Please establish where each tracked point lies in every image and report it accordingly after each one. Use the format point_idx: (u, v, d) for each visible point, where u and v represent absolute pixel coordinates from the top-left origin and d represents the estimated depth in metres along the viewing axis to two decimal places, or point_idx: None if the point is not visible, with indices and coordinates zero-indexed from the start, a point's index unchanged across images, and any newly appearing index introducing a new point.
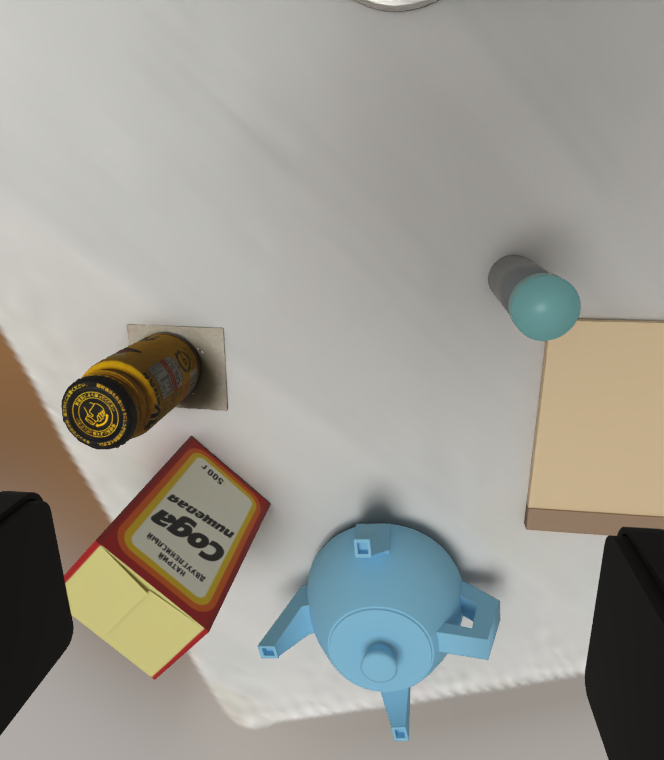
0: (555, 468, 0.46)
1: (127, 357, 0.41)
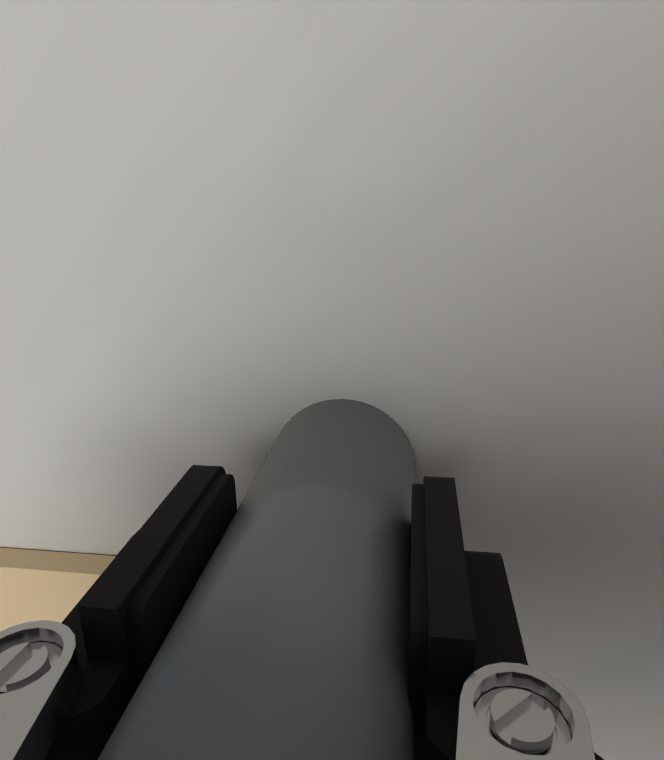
0: None
1: None
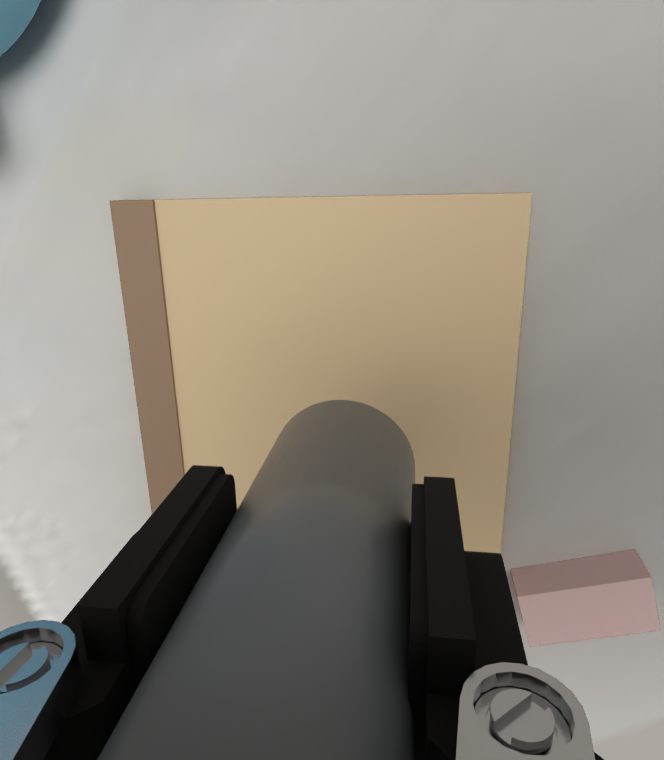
0: (239, 239, 0.25)
1: None
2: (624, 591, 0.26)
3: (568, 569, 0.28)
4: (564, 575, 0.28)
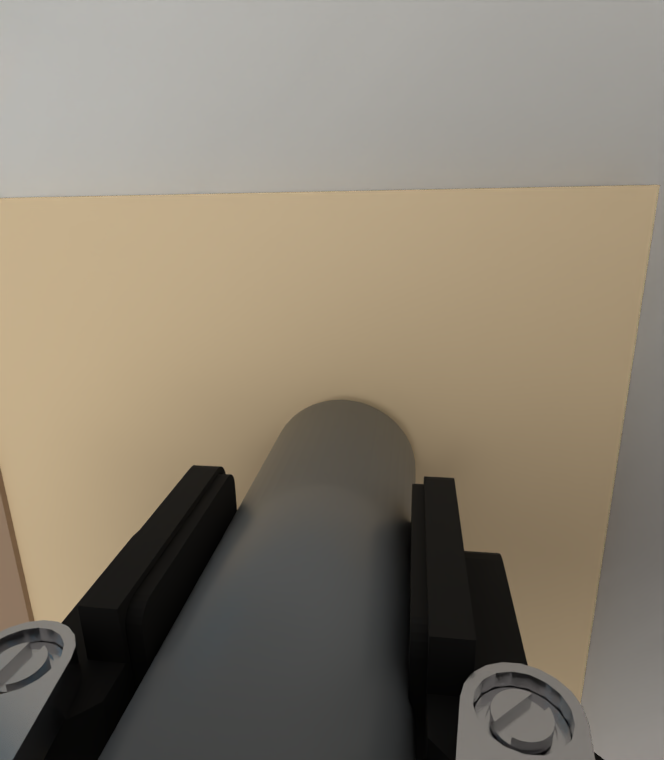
0: (99, 273, 0.14)
1: None
2: None
3: None
4: None
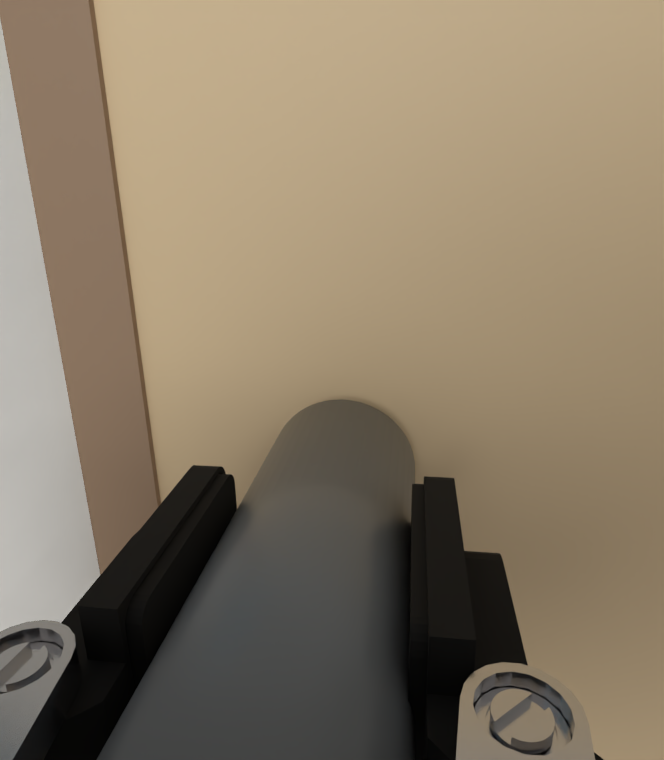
0: None
1: None
2: None
3: None
4: None
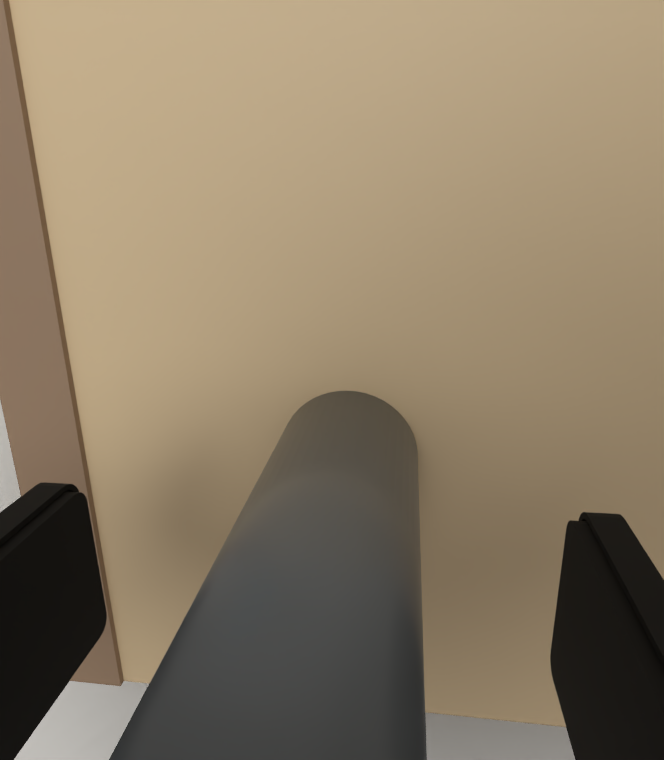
0: None
1: None
2: None
3: None
4: None
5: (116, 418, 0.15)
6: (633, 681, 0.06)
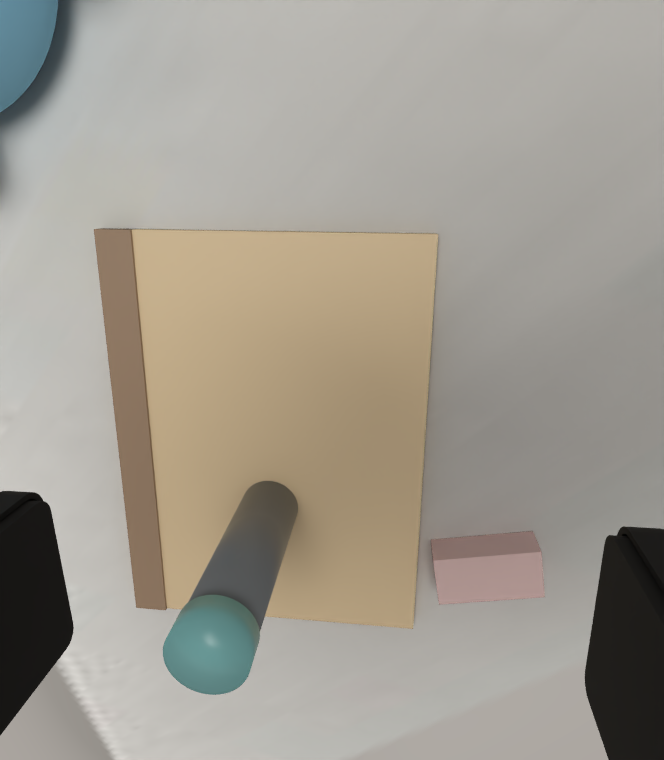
0: (202, 264, 0.30)
1: None
2: (519, 562, 0.32)
3: (477, 542, 0.33)
4: (473, 547, 0.33)
5: (172, 489, 0.34)
6: None
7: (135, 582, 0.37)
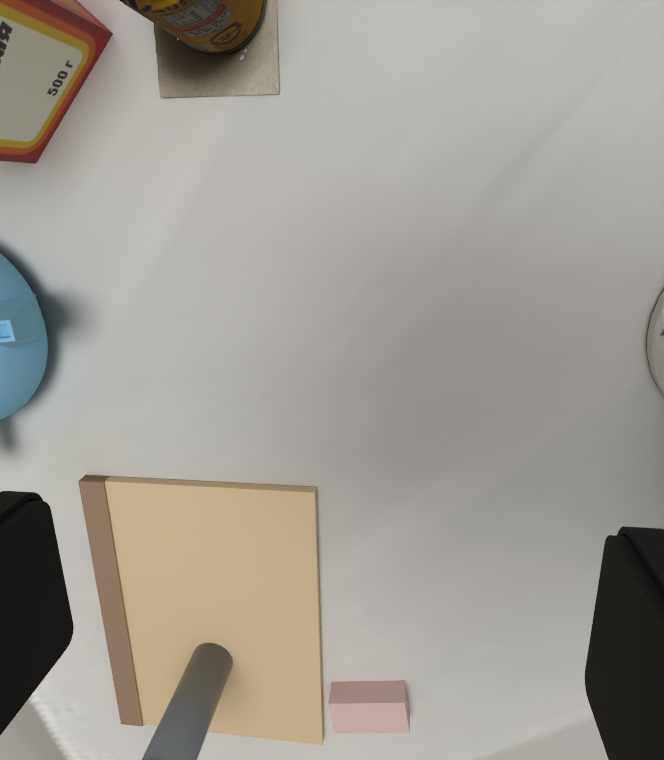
0: (154, 504, 0.43)
1: None
2: (389, 708, 0.44)
3: (363, 688, 0.45)
4: (359, 693, 0.45)
5: (142, 645, 0.47)
6: None
7: (119, 706, 0.49)
